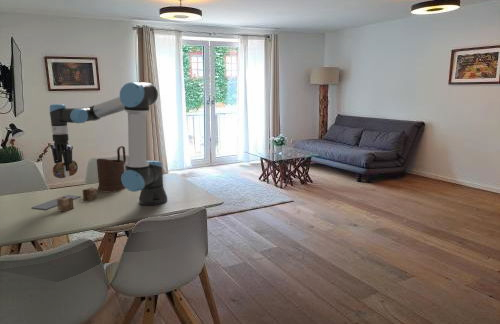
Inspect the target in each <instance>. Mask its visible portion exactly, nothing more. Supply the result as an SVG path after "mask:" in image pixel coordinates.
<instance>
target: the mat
mask: <svg viewBox="0 0 500 324" xmlns="http://www.w3.org/2000/svg"><path fill="white" fill-rule="evenodd" d="M61 197H65V198H71V197H72V198H73V201H74V200H77V199H80V198H81V197H82V196H80V195H74V194H73V195H72V194H65V195H63V196H60V197H57V198H55V199H52V200H49V201H46V202H42V203H40V204H37V205H34V206H32V207H31V209H35V210H41V211H42V210H44V211H47V210H51V209H53V208H56V207H58V205H57V199H59V198H61Z"/></svg>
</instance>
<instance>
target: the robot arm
mask: <svg viewBox="0 0 500 324" xmlns="http://www.w3.org/2000/svg"><path fill="white" fill-rule="evenodd" d="M158 96H159V91H158V89H157V87H156V86H155V85H154V84H152V83H151V82H145V81H143V82H140V81H138V82H137V81H129V82H128V83H125V84H124V85H122V87H121V88H120V90H119V96H117V97H114V98H111V99H108V100H107V101H102V102H100V103H97V104H95V105H91V106H87V107H74V108H69V107H66V105H65V104H64V103H59V104H58V103H55V104H54V103H53V104H50V105H49V116H50V123H51V124H50V125H51V133H52V141H53V142H54V143H53V144H51V145H50V146H49V147H50V149H51V152H52V158H53V163H54V164H57V163H60V162H64V165H63V167H64V177H65V178H68V177H71V176H70V175H69V170H70V168H69V164H72V160H73V148H74V147H73V145H70V144H69V142H68V141H69V140H70V139H69V134H68V132H69V128H68V123H69V124H85V123H86V122H91V121H92V122H93V121H98V120H101V119H102V118H105V117H108V116H111V115H114V114H117V113H120V112H124V111H125V112H126V113H127V131H128V132H127V138H128V139H127V141H128V151H127V152H128V161H127V162H125V170H124V173H123V174H122V176H121V181H122V184H123V186H124V187H126V190H128V191H130V192H132V193H133V192H139V191H140V194H139V197H138V199H139V200H138V202H139V204H140V205H142V206H159V205H161V204H165V203H166V202H168V195H167V193H166V190H165V187H164V178H163V175H164V174H163V164H162V161H160V160H147V113H149V112H150V106H151V105H153V104H155V103H156V101H157V100H158V99H159V98H158Z"/></svg>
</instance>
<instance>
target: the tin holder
mask: <svg viewBox="0 0 500 324" xmlns="http://www.w3.org/2000/svg"><path fill="white" fill-rule="evenodd" d="M97 189H98V188H93V187H87V188H85V189H82V198H83V201H87V200H90V202H93V201H94V200H97V199H98V193H97V191H98V190H97ZM60 197H61V198H60ZM60 197H58V198H59V199H57V198H56V199H57V205H58V206H57V210H58V211H60V212H67V211H69V210H73V209H74V200H73V198H72V197H71V198H65V197H63V196H60Z"/></svg>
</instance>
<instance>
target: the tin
mask: <svg viewBox="0 0 500 324" xmlns="http://www.w3.org/2000/svg"><path fill="white" fill-rule="evenodd" d="M63 165H64V161H62V162H60V163H57V164H56V163H54V166H53V167H52V174H53V176H54V177H55V178H58V179H65V178H66V177H64V167H63ZM78 166H79V165H78V163H77V162H76V161H75V160H73V159H72V164H69V168H70V170H69V175H70V176H69V177H71V176H74V175H75V174H76V173H77V172H78Z"/></svg>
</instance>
